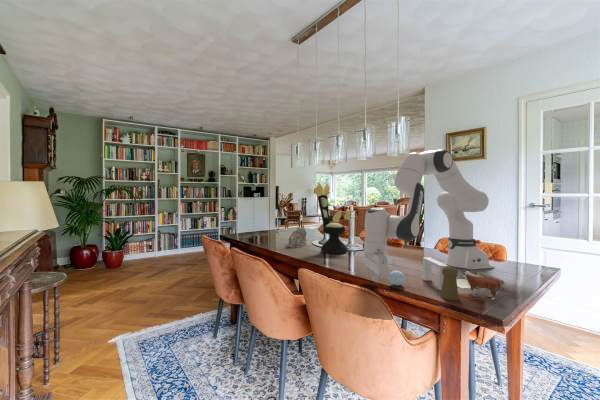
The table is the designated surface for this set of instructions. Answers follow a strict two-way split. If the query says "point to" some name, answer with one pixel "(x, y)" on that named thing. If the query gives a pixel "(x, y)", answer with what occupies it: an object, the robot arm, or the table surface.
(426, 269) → the bridge
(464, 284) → the blank cream square sheet
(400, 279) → the ball
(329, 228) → the candelabra
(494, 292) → the bull figurine
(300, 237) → the ceramic cottage
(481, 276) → the stopper
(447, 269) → the olive tall rounded piece
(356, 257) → the table surface
